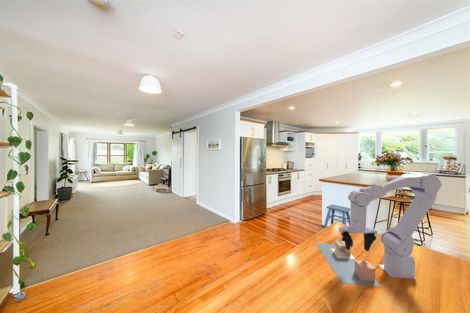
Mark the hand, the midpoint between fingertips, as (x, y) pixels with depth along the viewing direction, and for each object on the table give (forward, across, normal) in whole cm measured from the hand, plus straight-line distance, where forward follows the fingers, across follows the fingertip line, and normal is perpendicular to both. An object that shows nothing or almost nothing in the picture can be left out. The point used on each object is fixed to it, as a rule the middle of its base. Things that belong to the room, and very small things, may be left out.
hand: (357, 249), depth 78 cm
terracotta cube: (+8, 0, +5) cm, 10 cm away
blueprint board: (+9, +4, -5) cm, 11 cm away
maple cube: (+8, +1, -11) cm, 14 cm away
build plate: (+10, -6, -21) cm, 24 cm away
